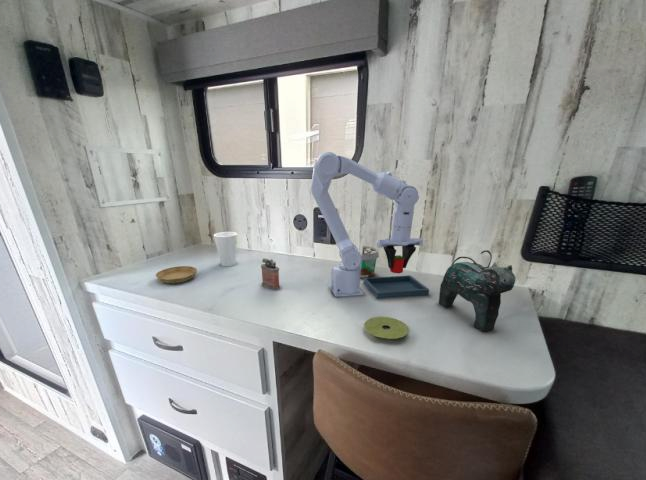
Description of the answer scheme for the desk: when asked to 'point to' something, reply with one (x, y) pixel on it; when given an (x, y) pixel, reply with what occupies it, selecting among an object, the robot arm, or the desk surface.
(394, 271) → the strawberry
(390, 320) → the green disc
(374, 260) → the food container
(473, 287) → the ceramic cat
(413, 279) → the tray
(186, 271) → the plant saucer
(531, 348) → the desk surface
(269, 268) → the lighter
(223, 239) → the foam cup
